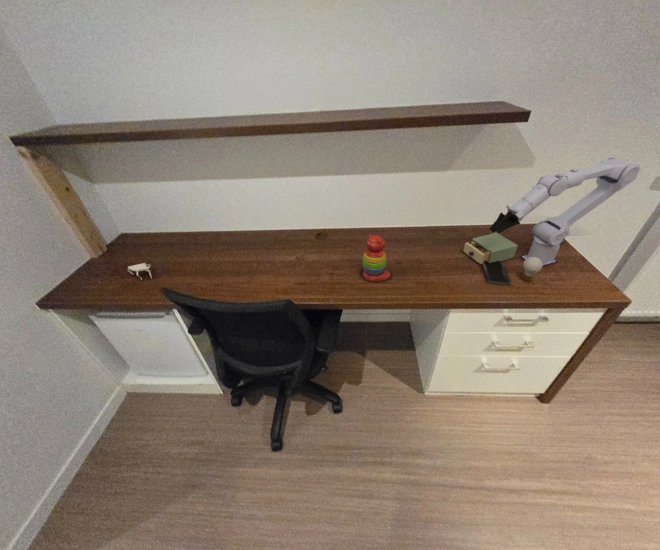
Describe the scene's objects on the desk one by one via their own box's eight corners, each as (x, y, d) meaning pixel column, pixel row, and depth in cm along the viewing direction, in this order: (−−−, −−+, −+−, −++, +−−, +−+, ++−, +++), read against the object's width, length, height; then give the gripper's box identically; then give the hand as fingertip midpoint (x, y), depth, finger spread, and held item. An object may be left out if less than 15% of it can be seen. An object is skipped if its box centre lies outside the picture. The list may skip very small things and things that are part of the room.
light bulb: (536, 286, 111) (546, 263, 105) (518, 283, 112) (527, 261, 107) (534, 276, 115) (543, 254, 109) (516, 274, 117) (525, 252, 111)
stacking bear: (392, 277, 120) (396, 238, 109) (371, 285, 116) (373, 246, 106) (377, 264, 128) (378, 226, 117) (356, 271, 124) (356, 234, 114)
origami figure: (159, 268, 135) (155, 259, 132) (152, 280, 128) (147, 270, 125) (133, 271, 135) (127, 262, 132) (124, 282, 128) (118, 273, 125)
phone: (487, 281, 113) (481, 259, 125) (486, 283, 114) (480, 261, 126) (510, 283, 112) (501, 260, 123) (509, 285, 112) (501, 263, 124)
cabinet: (488, 264, 123) (492, 252, 120) (469, 250, 132) (472, 238, 129) (513, 257, 126) (517, 245, 122) (492, 244, 135) (496, 232, 131)
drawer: (477, 264, 122) (480, 255, 119) (460, 251, 130) (462, 243, 127) (503, 257, 125) (506, 249, 122) (484, 245, 133) (487, 237, 130)
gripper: (512, 197, 113) (482, 222, 117) (526, 194, 99) (490, 223, 104) (526, 211, 113) (494, 236, 117) (541, 209, 99) (505, 238, 103)
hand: (493, 230), depth 110 cm, fingers open, 7 cm apart
